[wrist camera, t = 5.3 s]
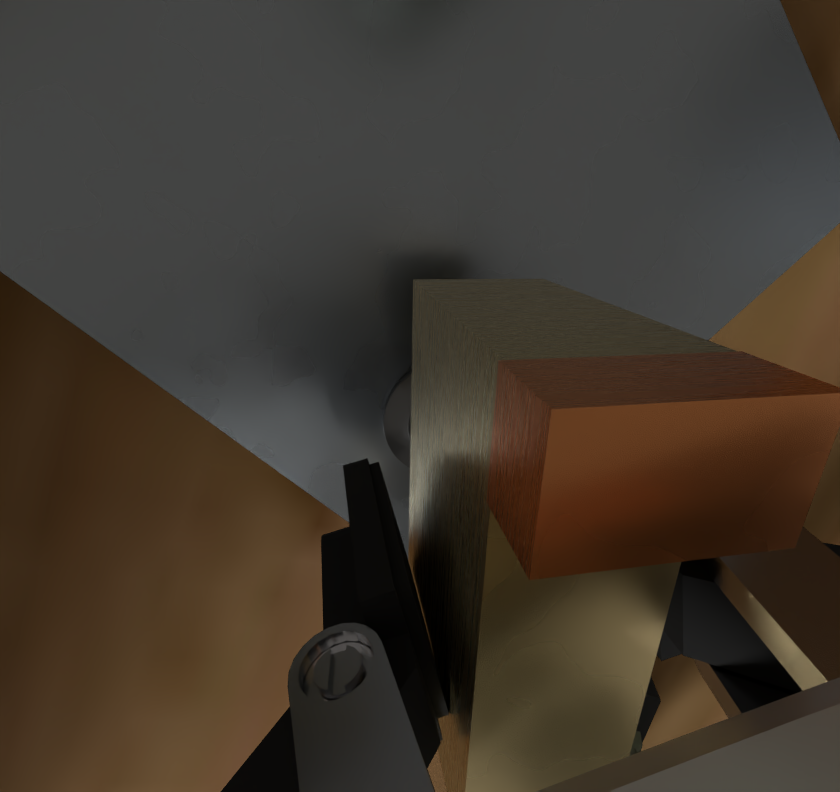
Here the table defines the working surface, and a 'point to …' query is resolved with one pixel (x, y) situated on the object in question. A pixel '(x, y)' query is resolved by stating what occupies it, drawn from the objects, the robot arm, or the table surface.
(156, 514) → the table surface
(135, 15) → the level plate
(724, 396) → the knob
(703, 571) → the robot arm
